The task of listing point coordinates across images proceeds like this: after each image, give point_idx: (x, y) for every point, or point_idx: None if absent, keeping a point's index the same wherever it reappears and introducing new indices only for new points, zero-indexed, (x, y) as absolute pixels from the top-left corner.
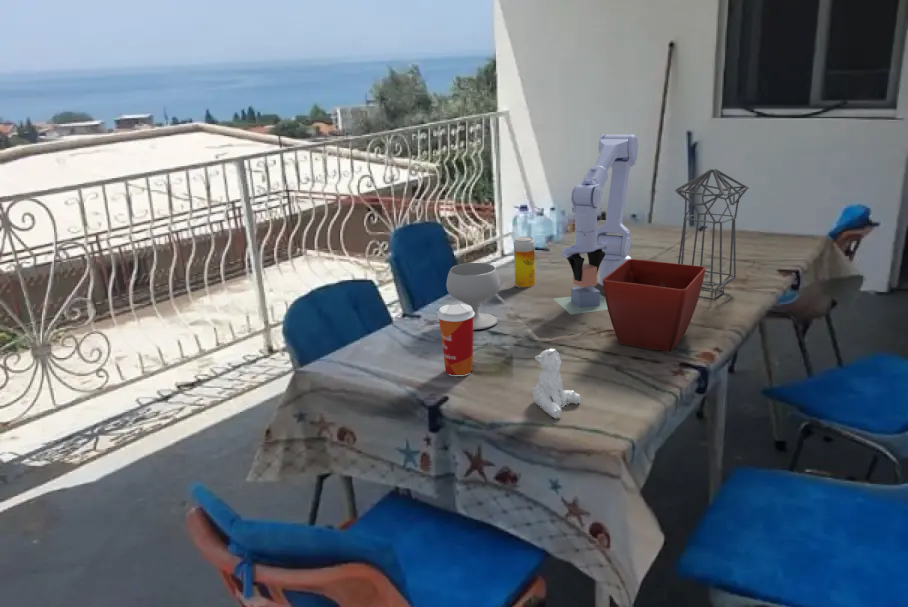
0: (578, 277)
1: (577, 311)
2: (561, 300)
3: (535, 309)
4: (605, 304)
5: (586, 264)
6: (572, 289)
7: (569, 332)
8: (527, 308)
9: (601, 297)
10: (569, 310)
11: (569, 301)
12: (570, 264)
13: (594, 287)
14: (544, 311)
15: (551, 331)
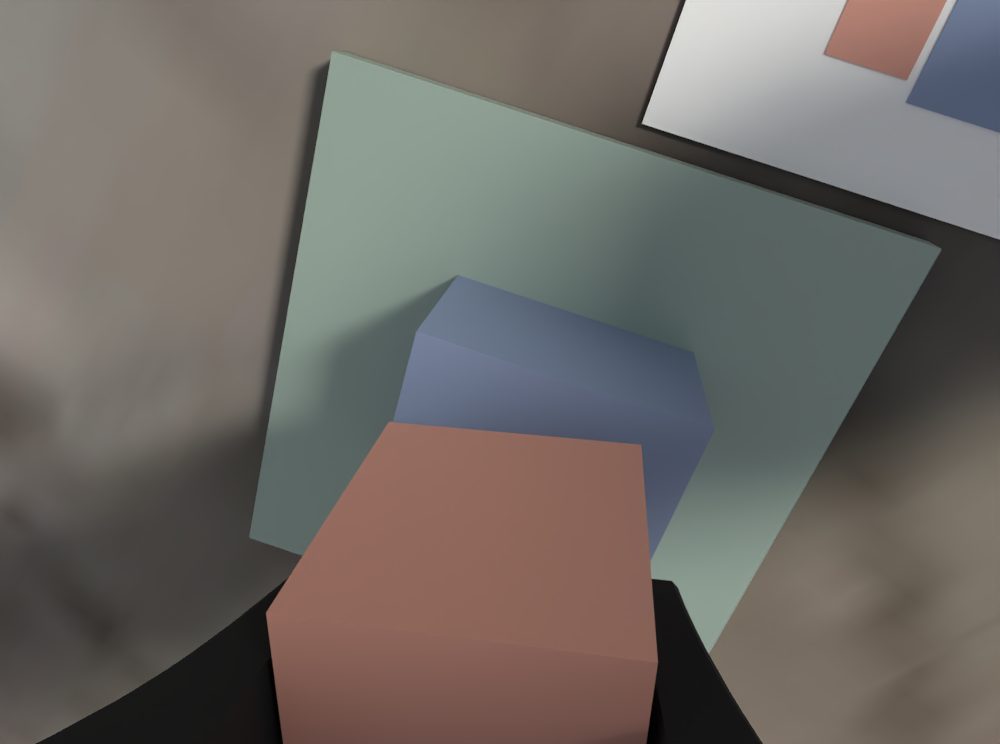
0: None
1: None
2: (385, 181)
3: (68, 161)
4: (667, 558)
5: (597, 706)
6: (406, 374)
7: (116, 693)
8: (3, 77)
9: (814, 393)
10: (290, 464)
11: (438, 269)
12: (98, 723)
13: (669, 519)
14: (127, 268)
15: (16, 616)
